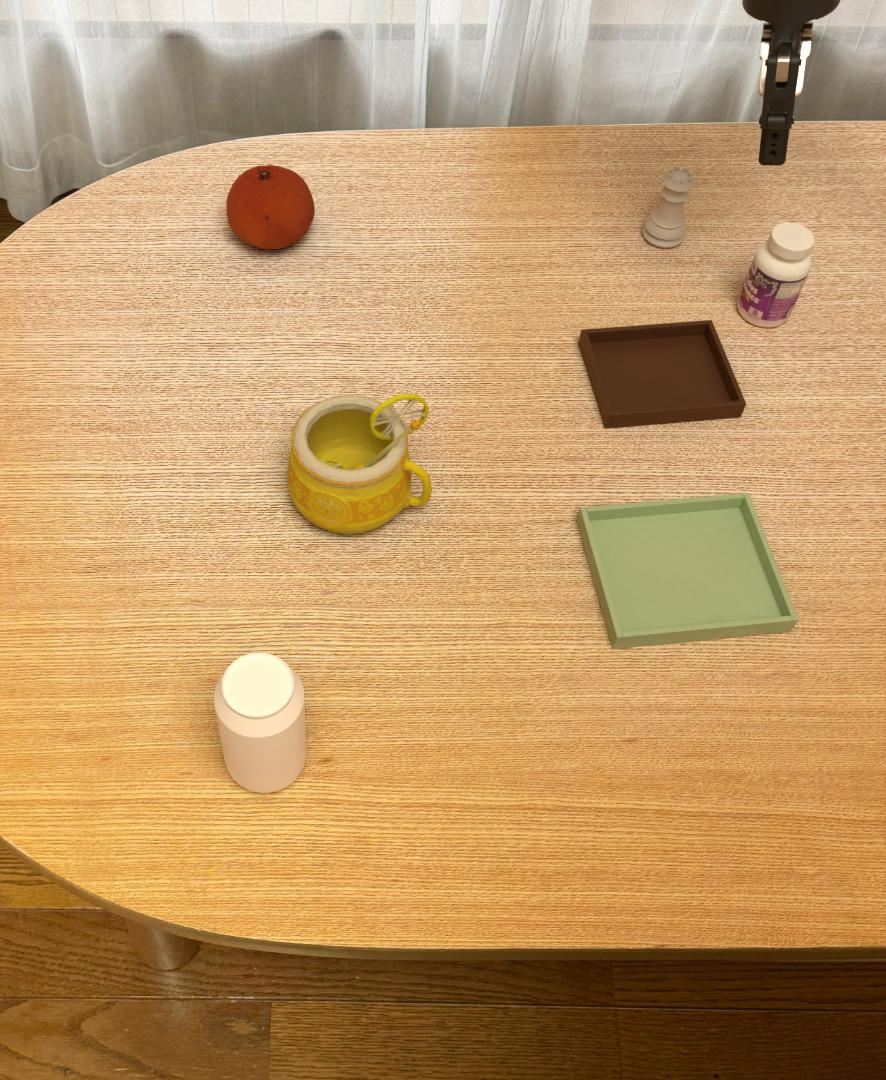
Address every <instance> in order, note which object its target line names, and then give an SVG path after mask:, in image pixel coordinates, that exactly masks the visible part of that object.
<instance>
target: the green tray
mask: <svg viewBox="0 0 886 1080" xmlns="http://www.w3.org/2000/svg"><path fill="white" fill-rule="evenodd" d="M576 524H577V527H578V531H579V534H580V538H581V542H582V546H583V548H584V552H585V556H586V560H587V562H588V566H589V570H590V573H591V577H592V581H593V584H594V588H595V591H596V595H597V598H598V602H599V606H600V609H601V612H602V615H603V616H602V617H603V620H604V623H605V626H606V630H607V634H608V638H609V641H610V644H611V648H612V650H617V649H627V648H638V647H648V646H657V645H669V644H678V643H688V642H700V641H709V640H719V639H729V638H730V639H731V638H740V637H750V636H761V635H768V634H769V635H770V634H771V635H772V634H780V633H791V632H792V631H793V629H794V628H795V626H796V625H797V623H798V621H799V617H798V615H797V612H796V609H795V607H794V605H793V601H792V600H791V597H790V594H789V592H788V589H787V587H786V585H785V581H784V579H783V577H782V574H781V571H780V569H779V567H778V564H777V561H776V558H775V556H774V554H773V551H772V548H771V546H770V543H769V541H768V539H767V536H766V534H765V530H764V528H763V526H762V523H761V520H760V517H759V515H758V513H757V510H756V508H755V505H754V503H753V501H752V498H751V495H750V493H749V492H742V493H730V494H719V495H705V496H696V497H695V496H694V497H684V498H683V497H682V498H674V499H673V498H671V499H662V500H661V499H660V500H653V501H652V500H649V501H639V502H626V503H617V504H616V503H615V504H605V505H603V504H602V505H594V506H592V505H590V506H582V507H581V506H580V507H579V509H578V513H577V517H576Z"/></svg>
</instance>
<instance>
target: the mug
mask: <svg viewBox="0 0 886 1080" xmlns="http://www.w3.org/2000/svg"><path fill="white" fill-rule="evenodd" d="M407 400H408V401H407ZM400 401H407V402H406V403H405V404H404V406H403V408H402V409H401V411H400V412H399V413H398V412H397V410H396V408H395V406H394V403H397V402H400ZM418 402H419V403H421V404H422V405H423V408H421V409H417V410H413V411H410V409H412V408H413V406H414V405H415V404H416V403H418ZM404 410H405V411H404ZM403 411H404V412H403ZM409 411H410V412H409ZM402 412H403V413H402ZM429 412H430V411H429V405H428V403H427V401H426V398H424V397H422V396H421V395H419V394H417V393H412V392H411V393H400V394H396V395H393V396H391V397H389V398H388V399H385V400H384V401H382V402H381V401H379V400H377V399H374V398H372V397H369V396H362V395H354V394H343V395H341V394H340V395H333V396H331V397H327V398H325V399H322V400H320V401H317V402H316V403H314V404H312V405H310V406H309V407H307V408H306V409H305V410H304V411H302V412H301V415H299V416H298V418H297V420H296V421H295V424H293V427H292V430H291V435H290V450H289V455H288V462H287V470H286V479H287V481H286V483H287V489H288V493H289V498H290V499H291V502H292V503H293V505H294V507H295V509H296V510H297V511H298V512H299V513H300V515H302V516H303V517H304V519H306V520H307V521H308V522H310V523H312V524H313V525H314V526H316V527H317V528H320V529H323V530H325V531H327V532H329V533H335V534H343V535H354V534H364V533H368V532H371V531H374V530H378V529H379V528H380V527H382V526H384V525H385V524H387V523H389V522H390V521H392V520H394V519H395V517H397V515H399V514H400V513H401V512H402V510H403V509H409V508H410V506H412V507H420V506H425V505H427V504H428V503H429V502H430V500H431V496H432V493H433V487H432V483H431V482H432V481H431V478H430V477H431V476H430V475H429V473H428V472H427V470H426V469H424V468H423V467H422V466H420V465H419V464H418V463H417V462H415V461H412V460H411V459H410V452H409V440H410V439H409V436H410V435H412V434H413V433H415V432H416V431H417V430H419V429H420V428H421V427H422V426H423V425H424V424H425V422H426V421H427V419H428V417H429V414H430V413H429ZM413 414H414V415H413ZM405 415H411V416H406V417H404V416H405ZM419 417H420V418H419ZM411 418H419V419H413V420H411V422H410V424H408V423H407V422H406V421H405V419H411ZM412 473H413V474H414V475H415V476H416V478H418V479H419V480H420V482H421V485H422V492H421V495H420V496H413V492H412V491H411V490H412Z"/></svg>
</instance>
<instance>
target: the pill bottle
mask: <svg viewBox="0 0 886 1080" xmlns="http://www.w3.org/2000/svg"><path fill="white" fill-rule="evenodd" d="M814 244H815V236H814V234H813V232H812V231H811V230H810V229H809V228H807V227H806V226H805V225H802V224H800V223H798V222H791V221H789V222H787V221H785V222H781V223H778V224H776V225H775V226H773V228H772V230H771V232H770V234H769V237H768V238H767V240H764V241H763V242H762V243H761V244H760V245H759V246H758V247H757V249H756V251H755V253H754V256H753V259H752V261H751V264H750V266H749V269H748V271H747V274H746V276H745V279H744V281H743V283H742V287H741V290H740V292H739V296H738V298H737V303H736V304H737V305H736V306H737V307H736V308H737V312H738V313H739V315H740V316H741V317H742V319H744V320H745V321H746V322H748V323H750V324H751V325H753V326H756V327H759V328H770V329H771V328H776V327H779V326H782V325H783V324H785V323H786V322H787V321H788V320H789V318H790V317H791V314H792V313H793V310H794V307H795V305H796V304H797V300H798V299H799V297H800V295H801V292H802V290H803V287H804V285H805V283H806V281H807V279H808V276H809V274H810V272H811V269H812V267H813V266H812V265H813V259H812V255H811V253H812V250H813V247H814Z"/></svg>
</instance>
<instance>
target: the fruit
mask: <svg viewBox="0 0 886 1080" xmlns="http://www.w3.org/2000/svg"><path fill="white" fill-rule="evenodd" d="M225 205H226V206H225V207H226V208H225V210H226V211H225V213H226V220H227V224H228V227H229V228H230V229H231V231H232V232H233V233H234V234H235V236H237V237H238V238H239V239H240V240H241V241H242V242H244V243H246V244H249V245H250V246H253V247H256V248H258V249H263V250H273V249H274V250H275V249H276V250H277V249H284V248H286V247H290V246H291V245H294V244H295V243H296V242H298V241H299V240H301V239H302V238H303V237H304V236H305V235H306V234H307V233H308V231H309V230H310V228H311V225H312V223H313V221H314V218H315V212H316V210H315V202H314V198H313V195H312V193H311V190H310V187H309V185H308V183H307V182H306V181H305V179H304V178H303V177H302V176H301V175H300V174H298V172H295V171H294V170H292V169H290V168H286V167H283V166H280V165H273V164H266V165H256V166H254V167H251V168H248V169H246V170H245V171H244V172H242V173H241V174H240V175H238V177H237V178H236V179H235V180H234V181H233V183H232V185H231V187H230V188H229V191H228V193H227V196H226V203H225Z"/></svg>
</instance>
